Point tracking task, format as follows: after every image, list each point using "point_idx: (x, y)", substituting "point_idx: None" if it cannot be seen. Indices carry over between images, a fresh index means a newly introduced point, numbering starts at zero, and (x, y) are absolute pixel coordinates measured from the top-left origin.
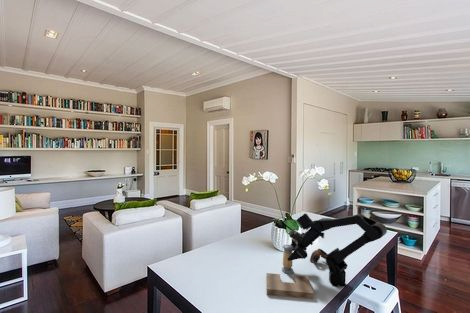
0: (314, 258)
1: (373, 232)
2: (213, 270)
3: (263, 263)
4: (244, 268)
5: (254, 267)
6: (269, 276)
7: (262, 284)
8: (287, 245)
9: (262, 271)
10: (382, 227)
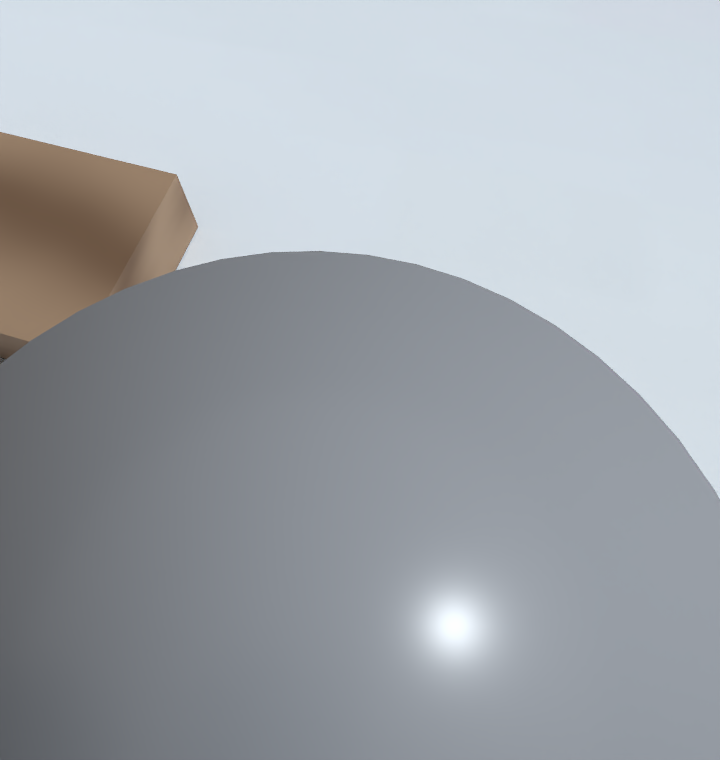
0: None
1: None
2: None
3: (655, 301)
4: (493, 53)
5: (517, 157)
6: (67, 186)
7: None
8: (562, 715)
9: (389, 225)
10: None
